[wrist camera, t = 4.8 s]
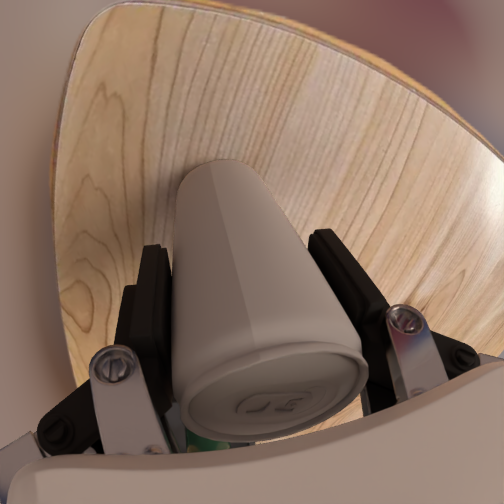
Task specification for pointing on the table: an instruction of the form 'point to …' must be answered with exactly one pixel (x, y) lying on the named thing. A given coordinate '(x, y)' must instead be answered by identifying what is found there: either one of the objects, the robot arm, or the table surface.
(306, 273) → the beverage can
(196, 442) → the middle bottle
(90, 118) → the table surface
